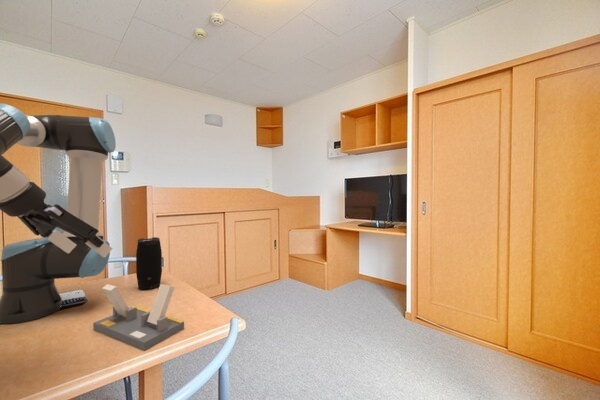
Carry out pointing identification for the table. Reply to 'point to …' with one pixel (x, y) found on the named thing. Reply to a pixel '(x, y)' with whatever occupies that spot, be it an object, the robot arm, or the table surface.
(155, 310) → the paddle
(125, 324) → the switch unit
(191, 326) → the table surface
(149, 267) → the portable speaker
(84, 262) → the robot arm
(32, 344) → the table surface
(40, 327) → the table surface
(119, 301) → the paddle
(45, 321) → the table surface
